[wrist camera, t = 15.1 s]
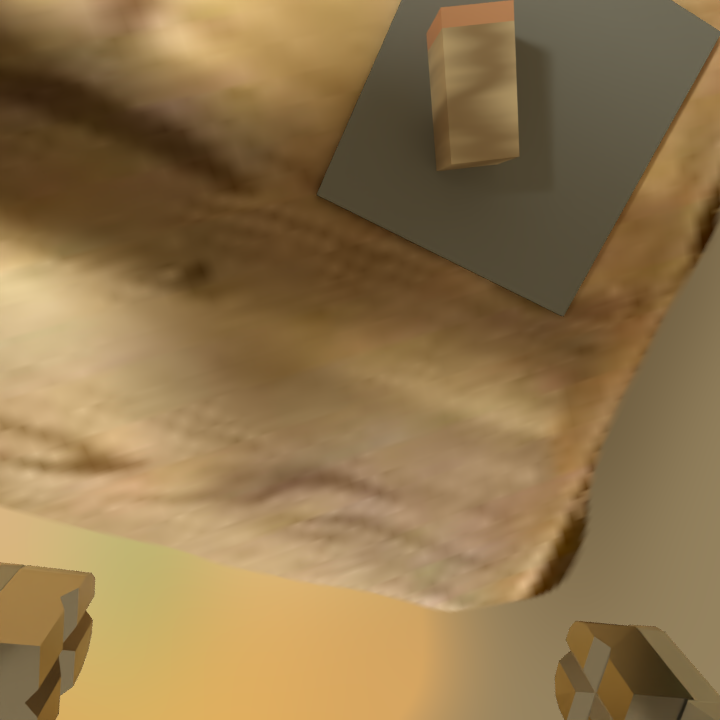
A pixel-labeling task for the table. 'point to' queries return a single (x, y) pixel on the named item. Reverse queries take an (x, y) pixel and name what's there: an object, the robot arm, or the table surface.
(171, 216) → the table surface
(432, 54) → the maple block
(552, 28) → the rubber mat
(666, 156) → the table surface
